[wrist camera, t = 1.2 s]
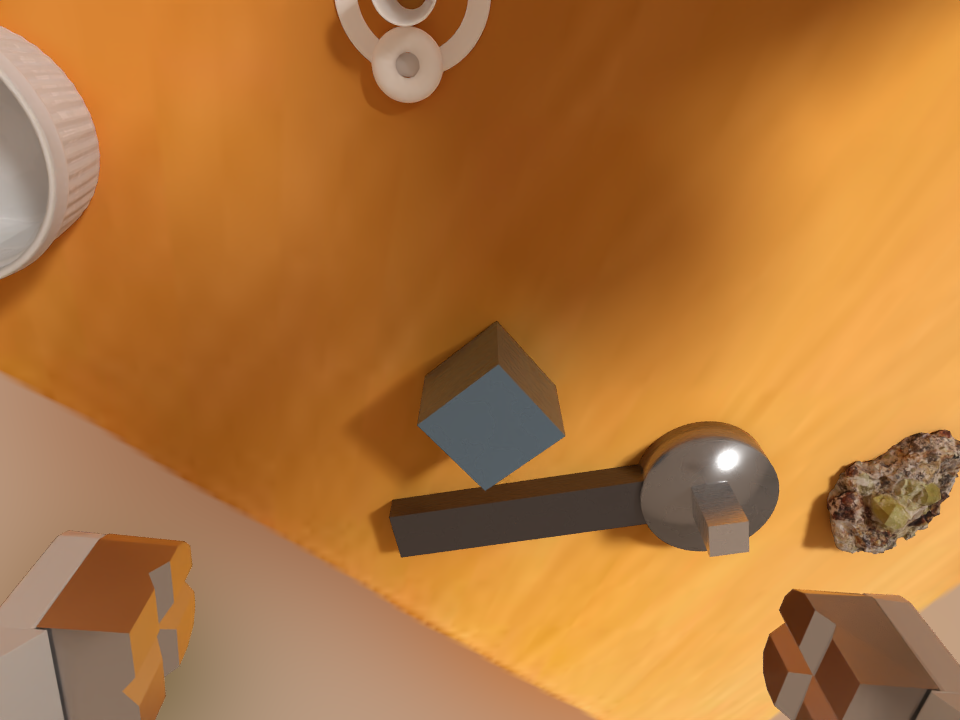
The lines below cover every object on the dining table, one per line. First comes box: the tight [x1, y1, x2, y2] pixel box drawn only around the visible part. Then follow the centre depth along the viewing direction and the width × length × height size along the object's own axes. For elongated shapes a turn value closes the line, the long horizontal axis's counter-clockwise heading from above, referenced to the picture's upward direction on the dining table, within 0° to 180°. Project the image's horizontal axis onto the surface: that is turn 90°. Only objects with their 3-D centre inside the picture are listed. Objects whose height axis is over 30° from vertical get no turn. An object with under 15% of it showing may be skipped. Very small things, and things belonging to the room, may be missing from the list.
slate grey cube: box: [417, 321, 565, 491], centre depth 42 cm, size 6×6×6 cm
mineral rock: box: [827, 430, 960, 554], centre depth 48 cm, size 11×4×8 cm
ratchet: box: [389, 421, 779, 557], centre depth 46 cm, size 26×9×6 cm, turn 100°
